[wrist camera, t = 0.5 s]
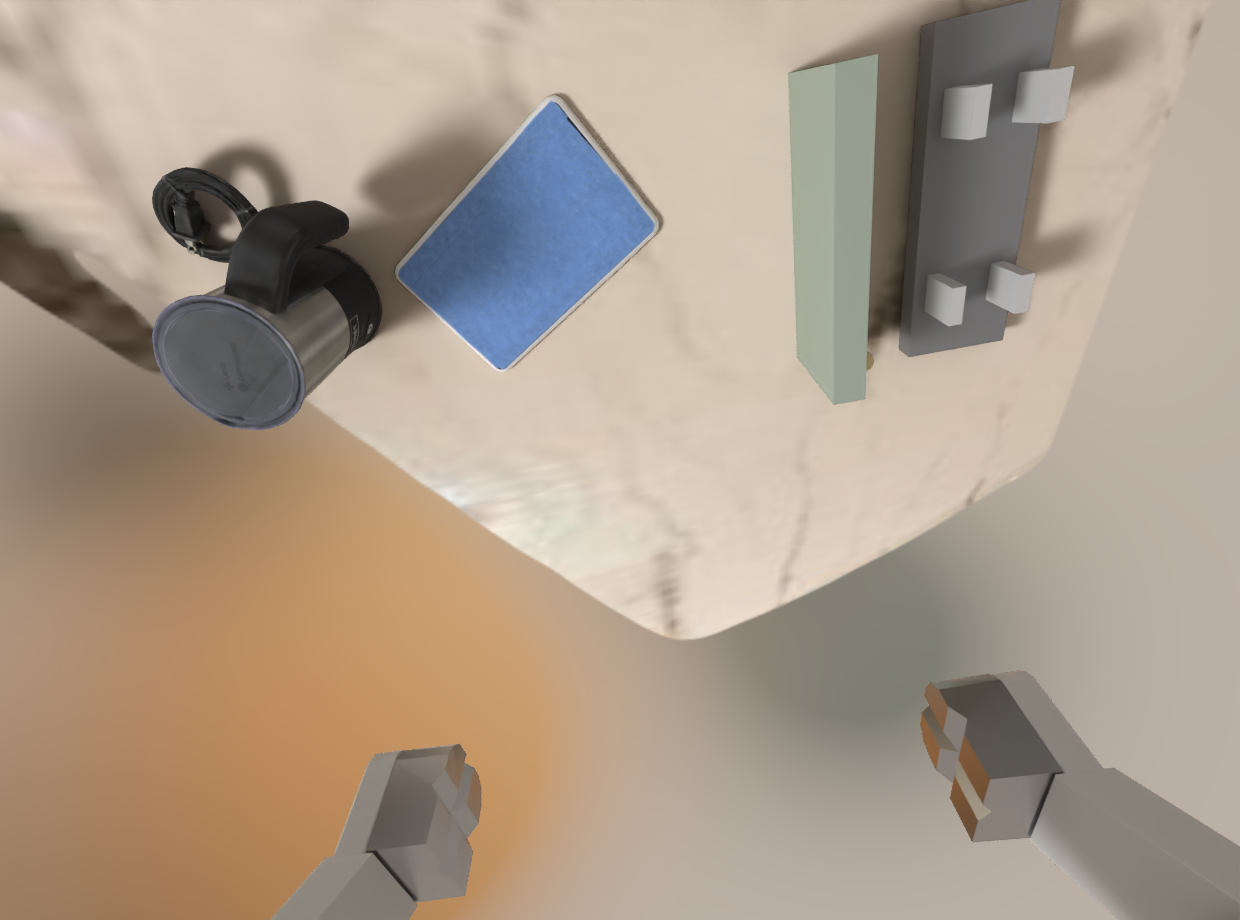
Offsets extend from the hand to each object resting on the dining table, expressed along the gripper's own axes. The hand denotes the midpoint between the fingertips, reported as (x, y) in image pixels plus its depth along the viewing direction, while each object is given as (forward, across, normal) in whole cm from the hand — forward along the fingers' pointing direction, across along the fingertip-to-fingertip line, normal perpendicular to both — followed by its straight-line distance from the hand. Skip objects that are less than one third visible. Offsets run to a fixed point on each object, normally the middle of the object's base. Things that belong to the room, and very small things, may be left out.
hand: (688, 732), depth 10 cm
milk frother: (+43, +28, -4) cm, 52 cm away
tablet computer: (+44, +8, -1) cm, 44 cm away
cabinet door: (+43, -15, +2) cm, 46 cm away
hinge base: (+43, -27, +2) cm, 51 cm away
